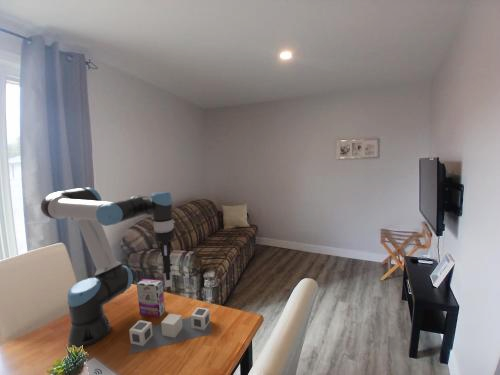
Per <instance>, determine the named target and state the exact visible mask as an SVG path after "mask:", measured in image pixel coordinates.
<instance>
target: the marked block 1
mask: <svg viewBox="0 0 500 375" xmlns="http://www.w3.org/2000/svg"><path fill="white" fill-rule="evenodd" d="M152 326H153V324H152V322H151V321H146V320H141V319H139V320H138V321H137V322H136V323H135V324H133V326H132V327H131V328H130V329H129V339H130V344H136V345H141V346H144V344H145V343H146V342H147V341H148V340H149V339H150V338H151V337H152V336H153V332H152Z"/></svg>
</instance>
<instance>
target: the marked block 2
mask: <svg viewBox="0 0 500 375" xmlns="http://www.w3.org/2000/svg"><path fill="white" fill-rule="evenodd" d="M190 317H191V323H192V328H195V329H200V330H205V328H206V327H207V325H208V324H209V322H210V323H211V312H210V308H206V307H201V306H200V307H198V306H197V307H196V308H195V309H194V311H193V312H192V313H191V314H190Z"/></svg>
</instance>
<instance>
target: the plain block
mask: <svg viewBox="0 0 500 375" xmlns="http://www.w3.org/2000/svg"><path fill="white" fill-rule="evenodd" d="M182 316H183V315H181V314H175V313H171V312H170V313H168V314H167V316H166V317H165V318H164V319H163V320H161V323H160V324H161V325H162V335H164V336H168V337H173V338H175V337H176V336H177V334H178V333H179V332H180V331H181V329H182V319H183V318H182Z"/></svg>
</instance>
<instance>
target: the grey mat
mask: <svg viewBox="0 0 500 375" xmlns="http://www.w3.org/2000/svg"><path fill="white" fill-rule="evenodd" d="M152 332H153V336H152V337H151V338H150V339H149V340H148V341H147V342H146V343H145V344H144V346H141V345H136V344H132V343H130V344H131V345H130V349H129V350H130V351H129V355H131V354H136V353H141V352H145V351H148V350H152V349H156V348H161V347H163V346H168V345H169V346H170V345H172V344H175V343H176V344H177V343H180V342H184V341H187V340H188V341H189V340H191V339H196V338H201V337H205V336H208V335H212V334H213V330H212V327H211V321H210V322H209V324H208V325H207V327H206V328H205V330H200V329H195V328H192V323H191V316H190V317H189V316H188V317H184V318H182V329H181V331H180V332H179V333H178V334H177V336H176V337H175V338H173V337H168V336H164V335H162V325H161V323H158V324H152Z"/></svg>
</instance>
